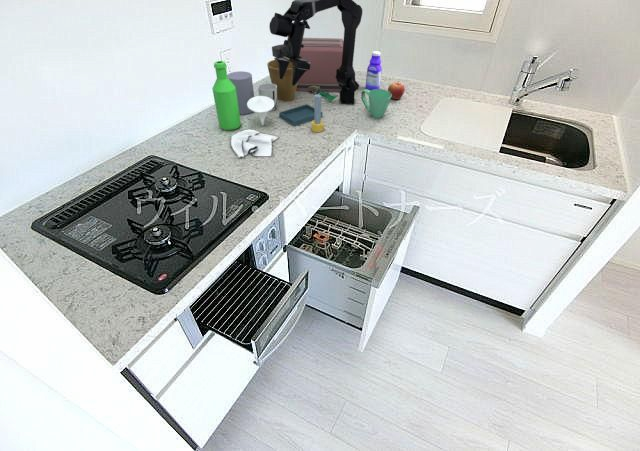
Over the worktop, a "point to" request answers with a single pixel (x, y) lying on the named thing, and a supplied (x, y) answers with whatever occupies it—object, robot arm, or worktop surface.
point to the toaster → (321, 63)
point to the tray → (298, 115)
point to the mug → (376, 101)
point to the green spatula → (322, 93)
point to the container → (242, 89)
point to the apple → (396, 90)
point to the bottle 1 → (225, 99)
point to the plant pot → (282, 81)
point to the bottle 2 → (374, 72)
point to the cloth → (252, 143)
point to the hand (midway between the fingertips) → (287, 82)
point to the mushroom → (260, 106)
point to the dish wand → (317, 115)
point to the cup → (269, 92)
